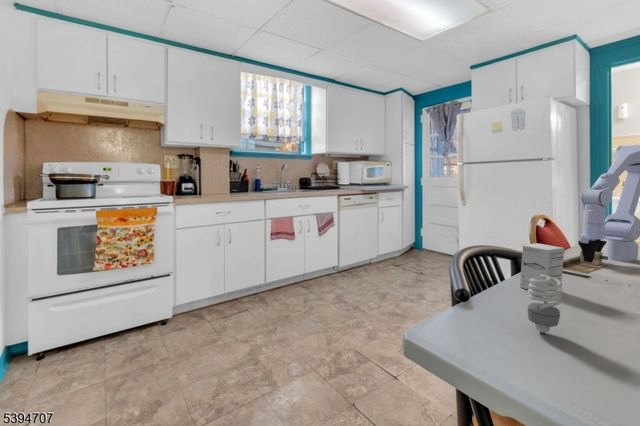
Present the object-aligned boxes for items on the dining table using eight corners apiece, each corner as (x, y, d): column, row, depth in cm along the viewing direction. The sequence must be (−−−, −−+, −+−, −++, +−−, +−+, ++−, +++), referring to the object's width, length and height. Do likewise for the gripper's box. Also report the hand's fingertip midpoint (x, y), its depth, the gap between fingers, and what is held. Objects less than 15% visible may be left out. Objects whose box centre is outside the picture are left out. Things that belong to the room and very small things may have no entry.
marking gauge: (584, 260, 117) (585, 249, 117) (609, 264, 112) (610, 253, 111) (579, 262, 115) (580, 251, 115) (604, 266, 109) (605, 254, 109)
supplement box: (518, 287, 93) (521, 244, 91) (534, 284, 96) (537, 242, 94) (545, 295, 86) (549, 249, 85) (562, 291, 89) (565, 247, 88)
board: (582, 262, 120) (582, 254, 120) (613, 268, 113) (613, 259, 112) (554, 271, 109) (555, 262, 108) (586, 278, 101) (587, 269, 101)
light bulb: (527, 324, 69) (530, 269, 68) (559, 331, 65) (564, 274, 64) (523, 333, 65) (527, 276, 63) (558, 342, 61) (562, 281, 60)
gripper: (588, 220, 120) (585, 256, 121) (571, 223, 113) (568, 261, 114) (612, 222, 114) (609, 259, 115) (596, 225, 107) (593, 265, 108)
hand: (590, 260), depth 114 cm, fingers closed on marking gauge, 4 cm apart
